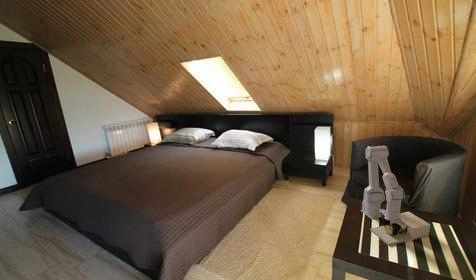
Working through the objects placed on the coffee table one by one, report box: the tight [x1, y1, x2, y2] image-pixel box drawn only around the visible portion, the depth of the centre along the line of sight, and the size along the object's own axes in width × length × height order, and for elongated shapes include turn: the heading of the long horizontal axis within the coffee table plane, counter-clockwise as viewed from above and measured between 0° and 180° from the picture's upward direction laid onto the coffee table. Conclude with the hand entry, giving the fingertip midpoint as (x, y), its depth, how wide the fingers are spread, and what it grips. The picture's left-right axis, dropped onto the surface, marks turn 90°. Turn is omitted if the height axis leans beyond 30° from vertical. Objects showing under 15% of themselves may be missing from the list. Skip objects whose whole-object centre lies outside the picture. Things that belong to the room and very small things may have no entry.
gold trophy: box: [384, 222, 408, 234], centre depth 115 cm, size 6×14×4 cm, turn 100°
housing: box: [369, 211, 431, 246], centre depth 115 cm, size 12×24×7 cm, turn 100°
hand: (390, 231), depth 115 cm, fingers closed on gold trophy, 4 cm apart
